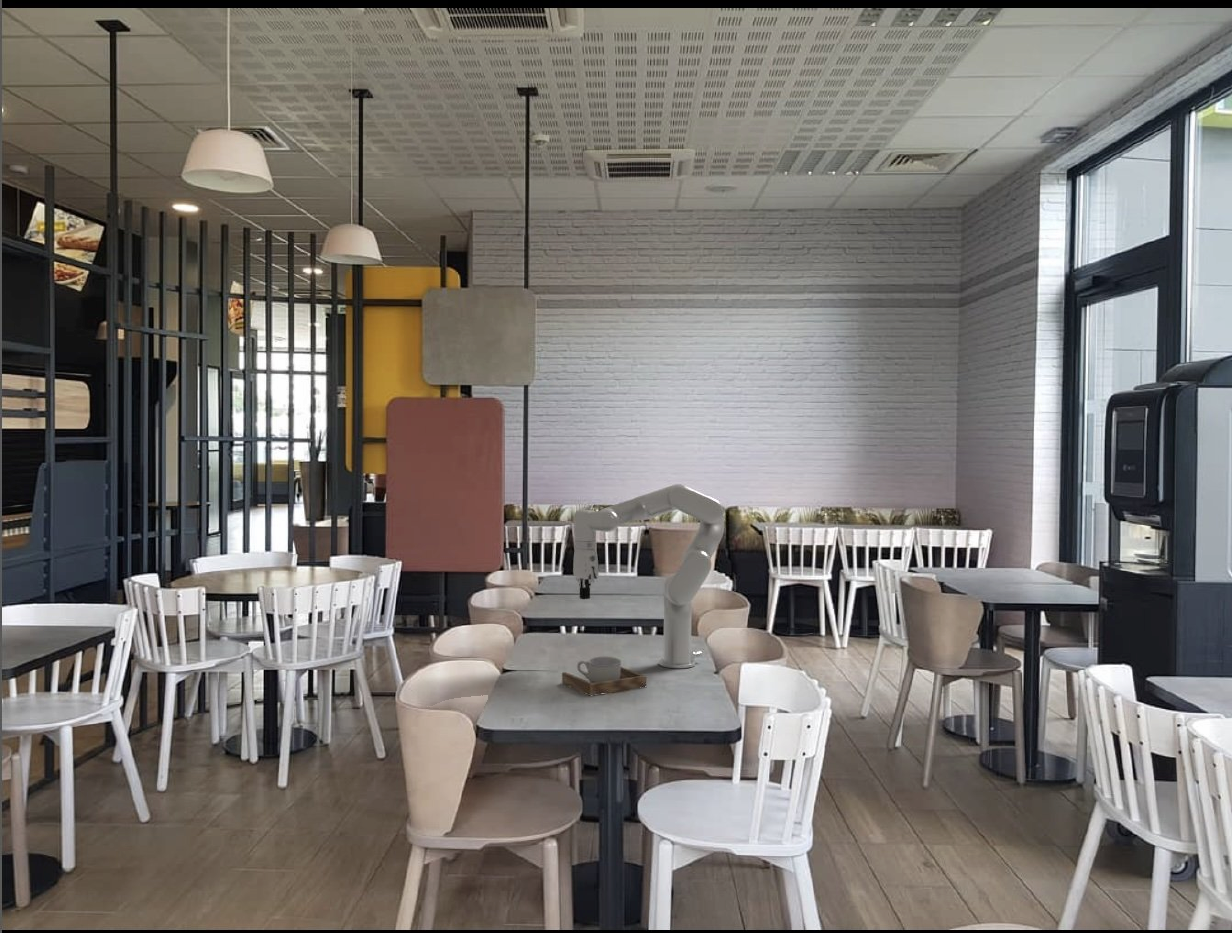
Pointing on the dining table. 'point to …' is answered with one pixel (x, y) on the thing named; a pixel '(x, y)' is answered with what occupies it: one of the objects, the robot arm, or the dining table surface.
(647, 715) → the dining table surface
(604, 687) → the corral
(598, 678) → the teacup
